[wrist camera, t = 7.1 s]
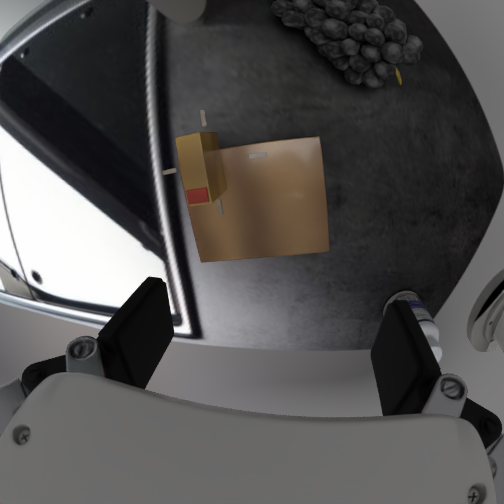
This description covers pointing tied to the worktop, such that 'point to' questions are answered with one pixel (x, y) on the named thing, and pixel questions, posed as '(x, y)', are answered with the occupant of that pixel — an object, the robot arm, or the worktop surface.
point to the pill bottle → (421, 319)
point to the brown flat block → (265, 202)
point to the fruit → (354, 36)
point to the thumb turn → (201, 167)
